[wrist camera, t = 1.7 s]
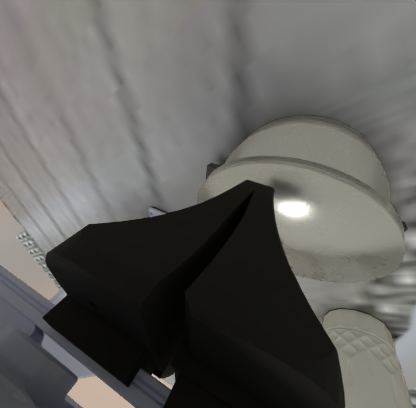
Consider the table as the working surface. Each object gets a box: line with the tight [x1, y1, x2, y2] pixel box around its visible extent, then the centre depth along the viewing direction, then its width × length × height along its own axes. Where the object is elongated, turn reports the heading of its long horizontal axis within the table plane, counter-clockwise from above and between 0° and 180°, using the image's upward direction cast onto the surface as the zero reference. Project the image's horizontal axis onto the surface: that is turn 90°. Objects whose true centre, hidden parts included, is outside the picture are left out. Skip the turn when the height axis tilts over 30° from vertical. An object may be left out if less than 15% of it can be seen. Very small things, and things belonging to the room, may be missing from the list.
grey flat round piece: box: [206, 115, 408, 232], centre depth 19 cm, size 15×16×3 cm
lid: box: [198, 156, 405, 283], centre depth 15 cm, size 14×14×2 cm
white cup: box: [323, 309, 413, 408], centre depth 22 cm, size 8×8×10 cm
